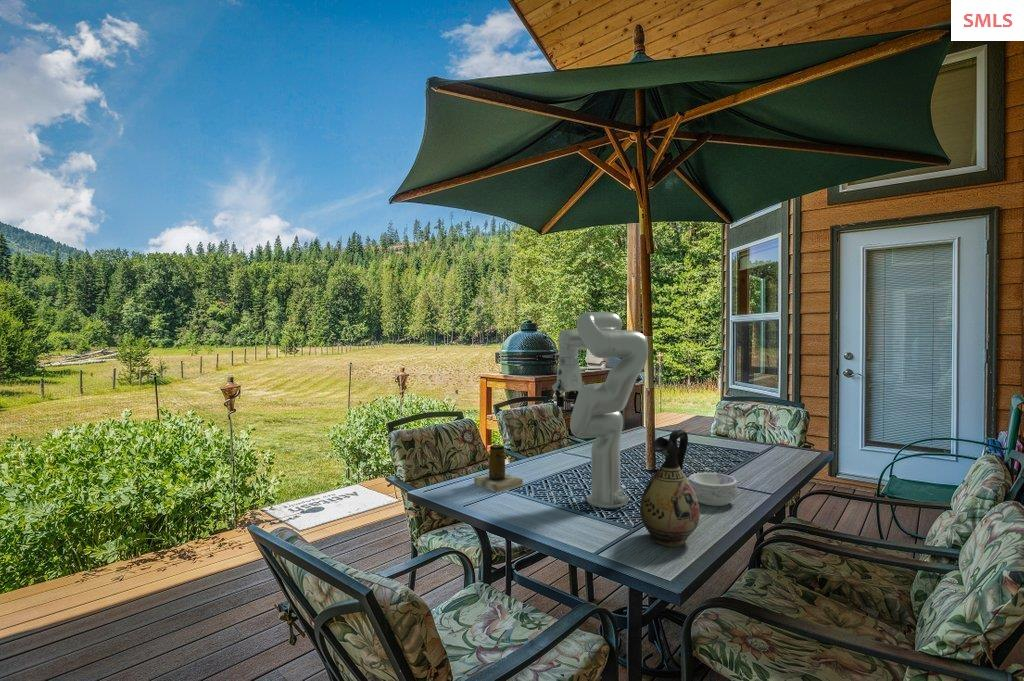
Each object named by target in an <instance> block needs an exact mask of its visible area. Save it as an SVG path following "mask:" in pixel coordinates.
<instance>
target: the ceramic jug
mask: <svg viewBox="0 0 1024 681" xmlns="http://www.w3.org/2000/svg"><path fill="white" fill-rule="evenodd" d="M678 439H679V445H677V444H678ZM688 444H689V436H688V433H687V432H686V431H685V430H683V429H678V430H677V429H675V430H673V431H672V432H671V433H670V435H669V438H668V439H666V438H665V437H664V436H663V437H662V436H659V437H657V438H656V439H655V440H654V442H653V444H652V445H653V449H654V451H655V452H657V453H659V454H661V455H663V456H665V457H664V458H665V459H664V461H663V463H662V464H661V466H660V468H659V469H657V470H656V472H655V473H654V475H653V476H652V478H651V479H650V480H649V482H648V483H647V484H646V486H645V488H644V491H643V494H642V497H641V500H640V503H639V504H640V505H639V514H640V518H641V521H642V524H643V525H644V527H645V529H646V531H647V532H648V533H649V535H650V536H649V537H650V540H651V542H653V543H654V544H656V545H662V546H665V547H672V548H674V547H676V548H677V547H680V546H683V545H685V543H686V542H687V540H688V538H689V537H690V536H691V535H692V534H693V532H694V531H695V530H696V529H697V527H698V525H699V523H700V505H699V502H698V500H697V497H696V495H695V492H694V490H693V488H692V486H691V485H690V483H689V481H688V478H687V476H686V475H685V473H684V472H683V469H684V461H685V456H686V454H687V451H688V450H687V448H688Z"/></svg>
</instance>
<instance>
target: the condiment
mask: <svg viewBox="0 0 1024 681" xmlns="http://www.w3.org/2000/svg"><path fill="white" fill-rule="evenodd" d="M488 474H489V476H487V477H484V478H487V479H489V480H493V481H496V482H501V481H507V480H510V479H513V478H510V477H507V476H505V474H506V454H505V446H504V445H501V444H493V445H490V447H489V454H488Z"/></svg>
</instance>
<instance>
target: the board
mask: <svg viewBox="0 0 1024 681" xmlns="http://www.w3.org/2000/svg"><path fill="white" fill-rule="evenodd" d="M487 476H489V473H487V474H483V475H479V476H474V478H473V482H474V483H473V484H474V485H476V484H477V485H476V486H478V485H479V486H478V487H481V486H482V488H484V487H485V488H484V489H486V488H487V490H489V489H490V490H489V491H491V490H493V491H492V492H494V491H495V493H496V492H498V493H501V492H500V491H502V492H505V491H504V490H506V491H508V489H509V490H512V489H511V488H513V489H516V488H515V487H517V488H520V487H519V486H521V487H523V486H524V484H523V483H524V482H523V481H524V480H523V478H520V477H518V476H517V477H516V476H513V475H511V474H508V473H505V476H507V477H510V478H513V479H510V480H507V481H501V482H496V481H493V480H489V479H487V478H484V477H487Z"/></svg>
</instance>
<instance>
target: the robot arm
mask: <svg viewBox="0 0 1024 681" xmlns="http://www.w3.org/2000/svg"><path fill="white" fill-rule="evenodd" d="M579 350H588V351H589V353H590V354H591V355H592V356H594V358H598V359H615V358H616V359H617V358H618V359H619V358H621V359H620V360H619V361H617V362H616V363H615V364H614V365H613V366H612V367H611V368H610V370H609V372H608V374H607V377H606V379H605V381H604V382H600V383H588V384H586V383H585V382H584V381H583V380H582V379H583V378H582V370H581V365H580V364H579ZM648 357H649V343H648V339H647V337H646V336H645V335H644V334H643V333H641V332H639V331H638V330H637V331H636V330H629V329H623V321H622V318H621V316H619V315H618V314H616V313H614V312H610V311H586V312H583V313H581V314H580V316H579V317H578V319H577V321H576V329H566V330H560V331H559V332H558V360H557V362H558V366H557V373H556V382H554V384H552V386H551V389H552V391H553V393H554V395H555V397H556V407H559V408H564V406H565V404H564V402H565V400H564V399H565V397H564V394H565V393H566V392H567V393H569V392H574V393H573V404H574V406H573V410H572V411H571V415H570V420H569V422H570V423H569V427H570V431H571V434H573V436H574V437H576V438H579V439H591V438H595V440H594V442H593V443H592V445H591V448H590V449H591V451H590V455H591V456H590V464H591V466H590V471H591V472H590V476H591V477H590V478H591V479H590V480H591V484H590V485H591V488H590V490H591V492H590V494H589V495H588V496H587V497H586V502H587V503H588V504H589V505H590V506H593V507H596V508H599V509H601V508H602V509H616V508H621V507H623V506H625V505H627V504H628V503H629V501H630V497H629V496H627V495H624V490H623V489H621V441H622V440H621V438H622V433H623V428H624V427H623V426H624V418H623V414H622V413H621V411H623V410H624V409H625V408H626V406H627V404H628V401H629V399H630V395H631V393H632V391H633V389H634V386H635V383H636V381H637V380H638V378H639V376H640V374H641V373H642V371H643V369H644V368H645V366H646V363H647V360H648Z"/></svg>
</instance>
